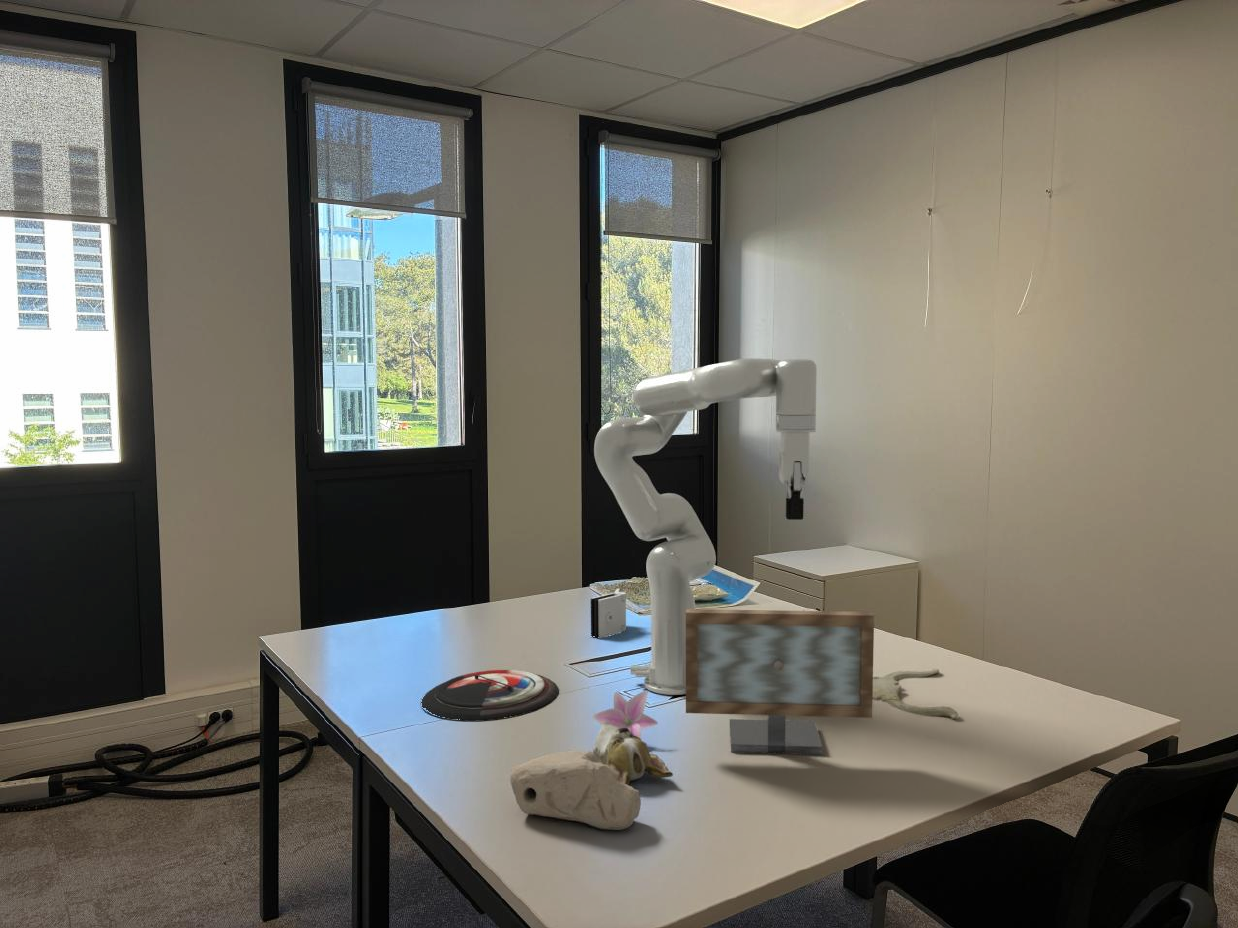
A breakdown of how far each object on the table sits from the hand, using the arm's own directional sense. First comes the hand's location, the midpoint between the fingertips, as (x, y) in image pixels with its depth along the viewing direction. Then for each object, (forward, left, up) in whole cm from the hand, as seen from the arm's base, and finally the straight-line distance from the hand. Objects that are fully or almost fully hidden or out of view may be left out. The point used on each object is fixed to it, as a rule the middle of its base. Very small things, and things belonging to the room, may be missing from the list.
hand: (794, 518), depth 181 cm
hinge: (-42, +56, -39) cm, 80 cm away
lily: (-31, -16, -39) cm, 53 cm away
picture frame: (-4, -21, -31) cm, 38 cm away
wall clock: (-62, +6, -40) cm, 74 cm away
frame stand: (-5, -13, -39) cm, 42 cm away
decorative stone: (-37, -46, -39) cm, 71 cm away
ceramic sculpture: (-30, -31, -39) cm, 58 cm away
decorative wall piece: (+18, +15, -40) cm, 46 cm away
